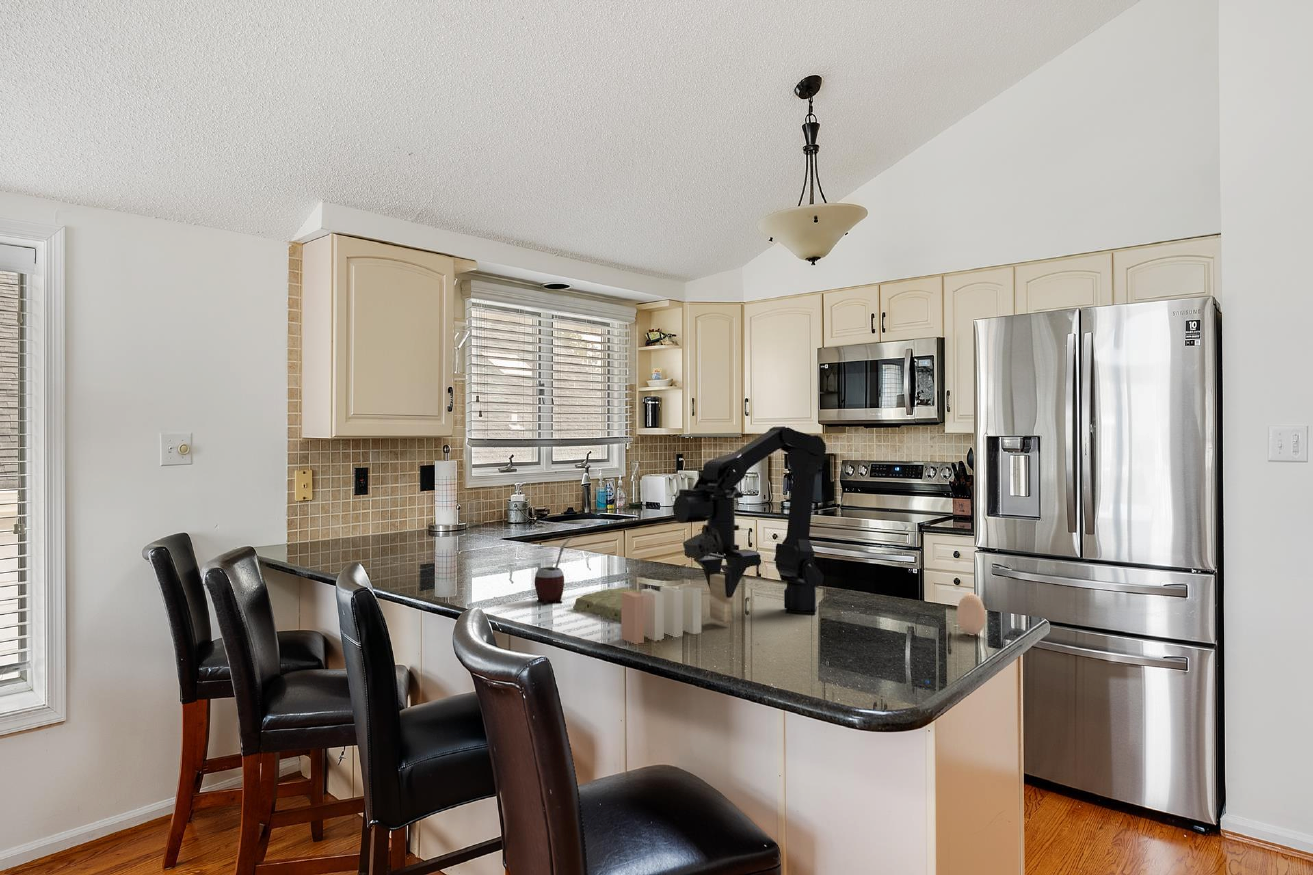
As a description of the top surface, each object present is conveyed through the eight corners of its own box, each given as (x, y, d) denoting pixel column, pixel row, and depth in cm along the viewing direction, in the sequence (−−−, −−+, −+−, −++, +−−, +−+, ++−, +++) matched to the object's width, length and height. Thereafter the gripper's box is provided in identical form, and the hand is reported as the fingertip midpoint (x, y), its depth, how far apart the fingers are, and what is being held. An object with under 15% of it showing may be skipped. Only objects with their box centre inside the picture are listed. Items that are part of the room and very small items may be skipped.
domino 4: (686, 627, 148) (686, 583, 148) (701, 632, 144) (701, 587, 144) (678, 628, 147) (678, 584, 147) (693, 634, 143) (693, 588, 143)
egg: (983, 640, 138) (983, 597, 138) (954, 636, 141) (954, 594, 141) (987, 633, 143) (987, 592, 143) (959, 630, 146) (959, 589, 146)
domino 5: (717, 616, 153) (717, 573, 153) (732, 621, 148) (732, 577, 149) (709, 617, 152) (709, 574, 152) (724, 622, 147) (724, 578, 147)
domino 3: (668, 630, 146) (668, 586, 146) (682, 636, 142) (682, 590, 142) (660, 632, 145) (660, 587, 145) (674, 637, 140) (674, 591, 141)
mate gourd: (529, 604, 169) (529, 540, 169) (543, 597, 177) (543, 536, 177) (559, 606, 167) (559, 541, 167) (571, 599, 175) (571, 537, 175)
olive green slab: (620, 599, 178) (620, 584, 178) (687, 610, 165) (687, 594, 165) (566, 613, 163) (566, 597, 163) (635, 627, 151) (635, 610, 151)
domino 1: (630, 637, 141) (630, 591, 141) (643, 643, 137) (643, 595, 137) (621, 638, 140) (621, 592, 140) (634, 644, 136) (634, 596, 136)
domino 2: (649, 633, 143) (649, 588, 143) (663, 639, 139) (663, 592, 139) (641, 635, 142) (641, 589, 142) (655, 641, 138) (654, 594, 138)
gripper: (663, 518, 154) (664, 591, 153) (718, 527, 138) (718, 608, 138) (705, 515, 160) (705, 586, 160) (762, 523, 144) (762, 601, 144)
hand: (721, 595), depth 150 cm, fingers closed on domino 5, 5 cm apart
